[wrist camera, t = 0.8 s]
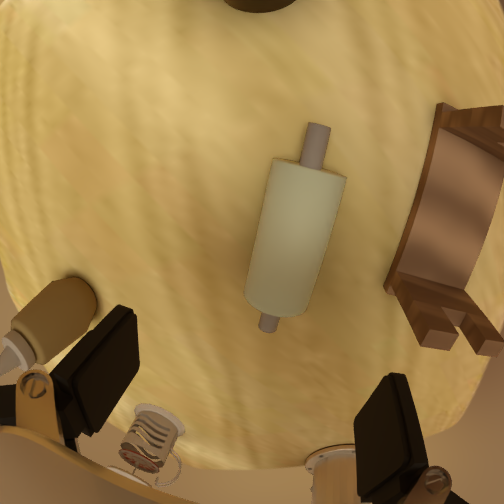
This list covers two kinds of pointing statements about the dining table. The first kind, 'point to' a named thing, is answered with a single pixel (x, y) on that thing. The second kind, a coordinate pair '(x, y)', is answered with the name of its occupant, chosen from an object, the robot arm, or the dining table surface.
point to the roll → (293, 231)
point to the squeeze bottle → (48, 324)
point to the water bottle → (258, 5)
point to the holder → (451, 229)
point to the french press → (150, 441)
